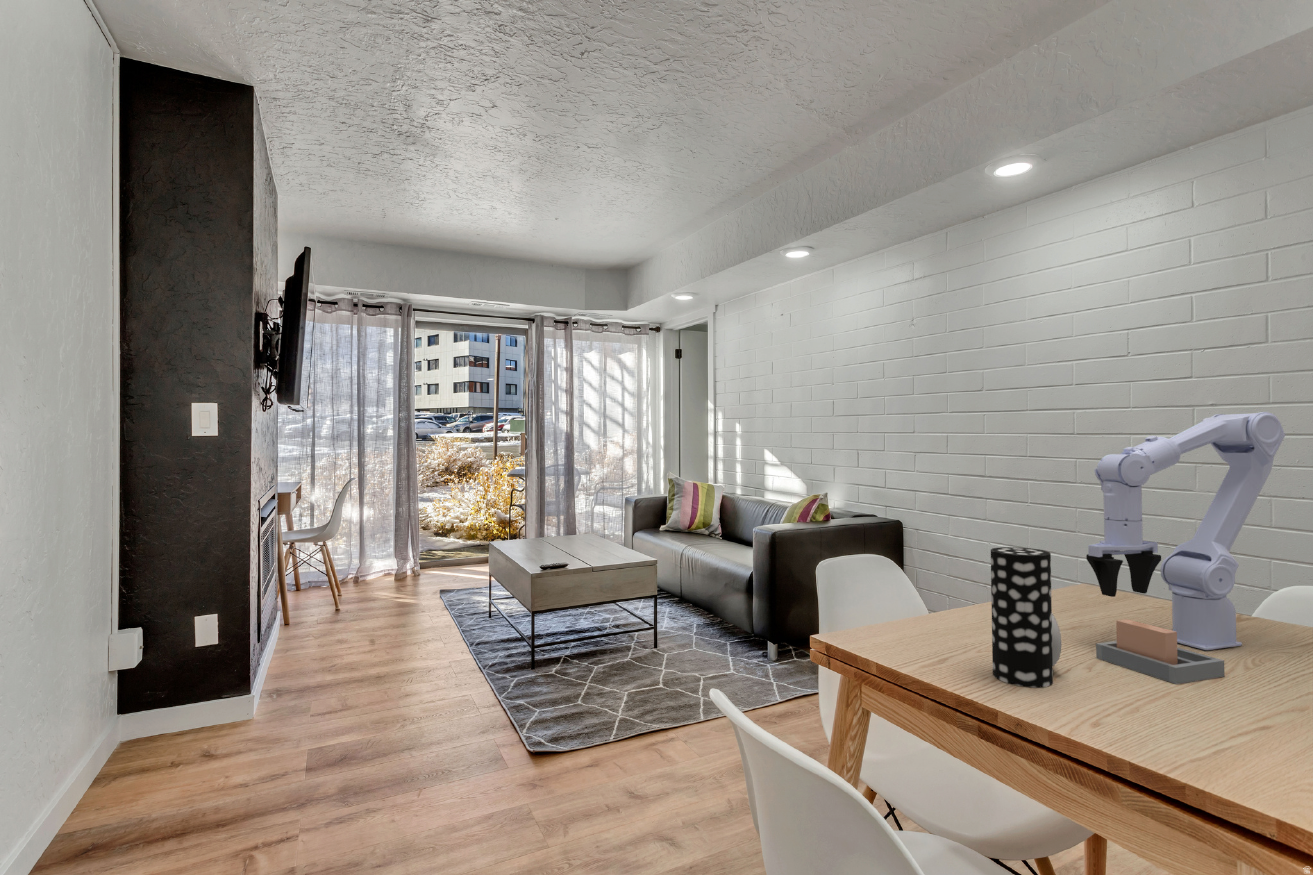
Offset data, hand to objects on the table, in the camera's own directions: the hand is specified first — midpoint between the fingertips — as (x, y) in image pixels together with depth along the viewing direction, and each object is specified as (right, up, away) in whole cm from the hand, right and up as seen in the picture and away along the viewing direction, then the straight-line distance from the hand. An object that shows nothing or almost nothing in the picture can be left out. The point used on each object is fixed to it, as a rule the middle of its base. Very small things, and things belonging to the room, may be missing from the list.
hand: (1124, 593), depth 119 cm
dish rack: (-3, -9, -11) cm, 15 cm away
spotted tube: (-28, -10, -16) cm, 33 cm away
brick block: (-5, -9, -12) cm, 16 cm away
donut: (-22, -10, -11) cm, 26 cm away
